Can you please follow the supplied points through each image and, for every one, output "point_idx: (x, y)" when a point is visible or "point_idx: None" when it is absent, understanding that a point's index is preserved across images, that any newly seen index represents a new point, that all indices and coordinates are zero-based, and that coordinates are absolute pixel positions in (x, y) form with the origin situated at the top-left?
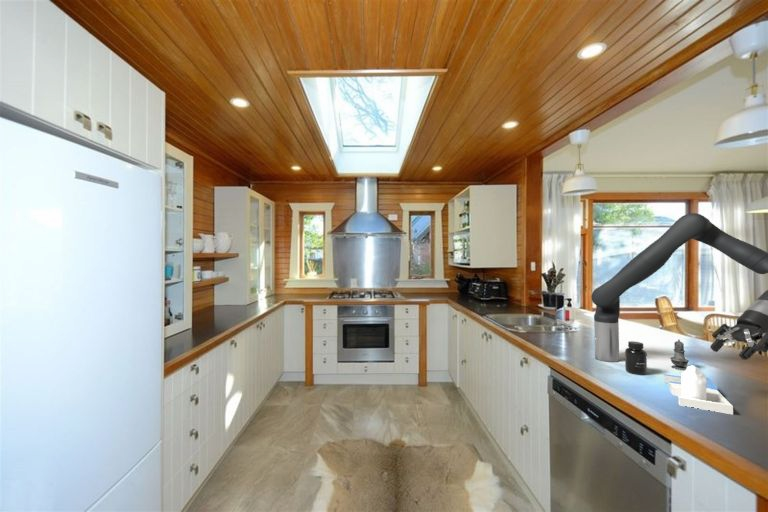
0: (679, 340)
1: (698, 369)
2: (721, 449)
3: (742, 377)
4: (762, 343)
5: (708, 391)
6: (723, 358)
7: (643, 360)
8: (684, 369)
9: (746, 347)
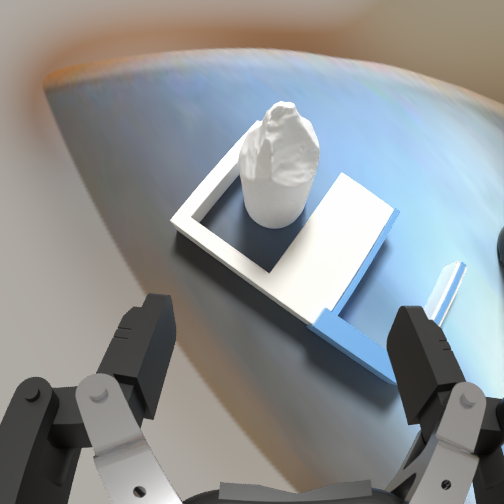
0: None
1: (264, 131)
2: (85, 72)
3: None
4: (7, 412)
5: (300, 271)
6: None
7: None
8: None
9: (130, 363)
